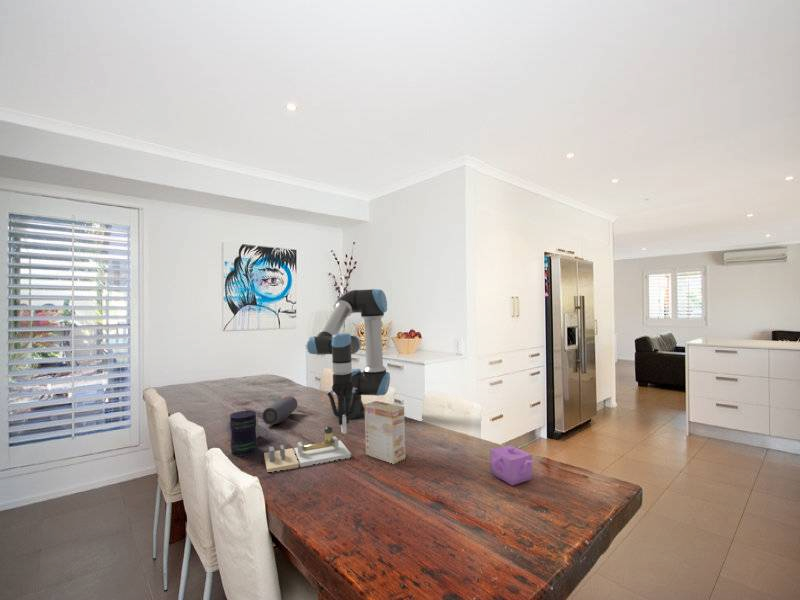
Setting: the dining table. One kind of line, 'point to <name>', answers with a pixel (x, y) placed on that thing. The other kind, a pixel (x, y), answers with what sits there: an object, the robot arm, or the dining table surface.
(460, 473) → the dining table surface
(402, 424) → the coffeecake box
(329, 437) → the bolt
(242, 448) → the dark blue barrel
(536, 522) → the dining table surface
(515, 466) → the purple knobbed block
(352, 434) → the dining table surface
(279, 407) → the bluetooth speaker
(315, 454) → the door lock
